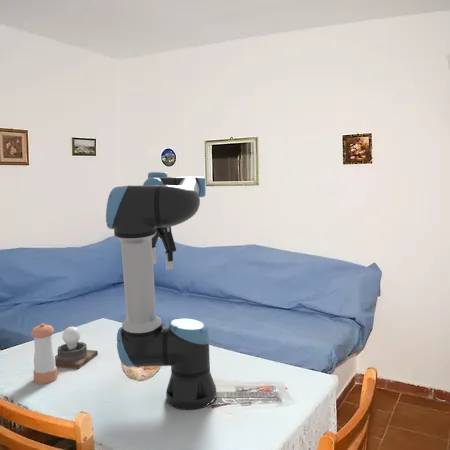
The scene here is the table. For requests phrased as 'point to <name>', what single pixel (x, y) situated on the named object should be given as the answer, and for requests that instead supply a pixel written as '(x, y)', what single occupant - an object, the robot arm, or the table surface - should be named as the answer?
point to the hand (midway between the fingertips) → (161, 266)
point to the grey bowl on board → (74, 356)
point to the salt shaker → (44, 355)
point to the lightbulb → (71, 337)
